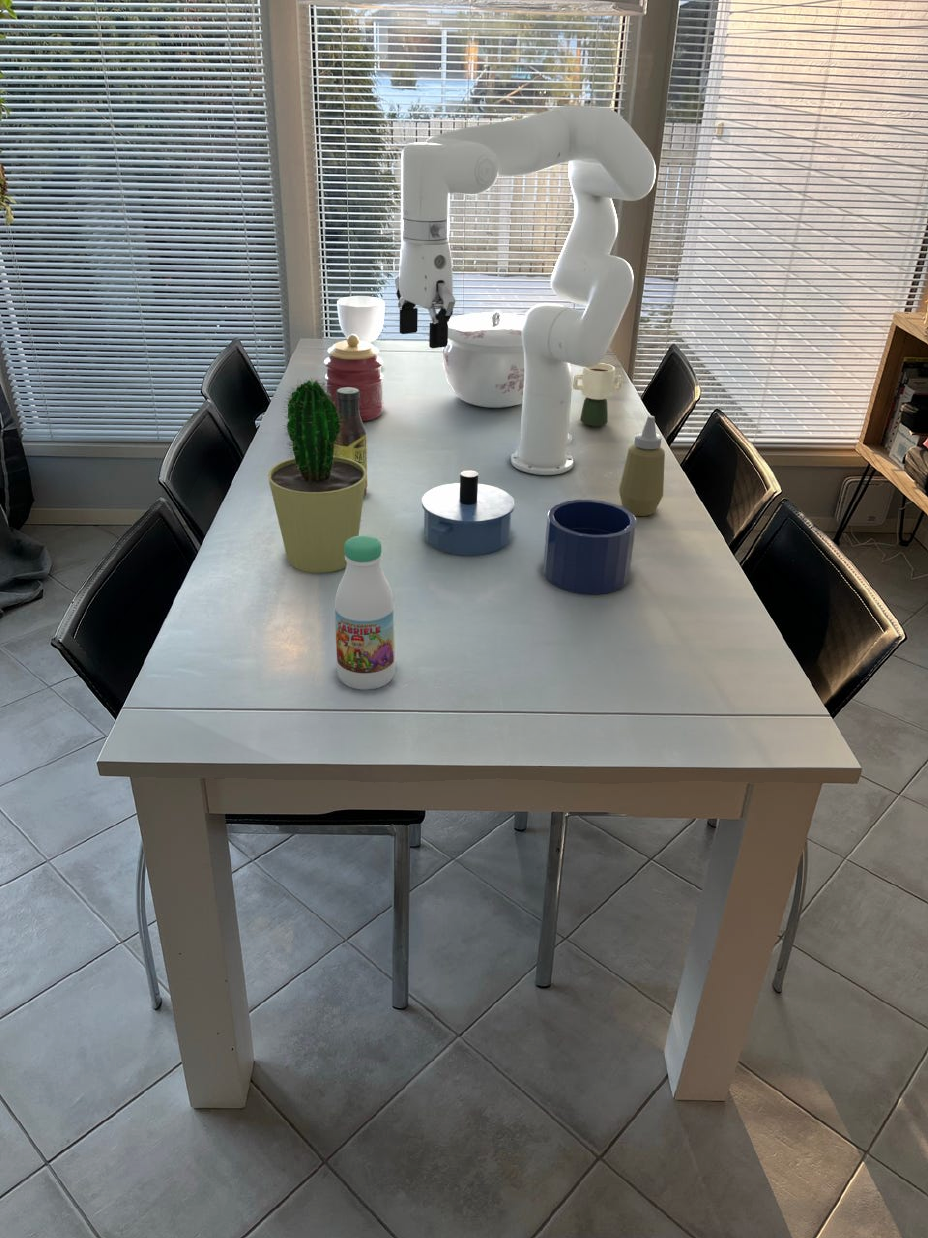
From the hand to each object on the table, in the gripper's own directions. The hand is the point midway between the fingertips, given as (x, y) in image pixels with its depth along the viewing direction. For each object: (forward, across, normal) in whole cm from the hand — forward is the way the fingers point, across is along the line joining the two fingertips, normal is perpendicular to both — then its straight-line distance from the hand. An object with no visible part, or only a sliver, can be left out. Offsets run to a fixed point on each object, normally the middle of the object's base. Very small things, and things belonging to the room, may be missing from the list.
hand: (423, 339), depth 161 cm
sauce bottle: (+31, +12, +8) cm, 34 cm away
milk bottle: (+31, -42, +33) cm, 62 cm away
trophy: (+30, +20, -57) cm, 68 cm away
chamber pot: (+30, +45, -47) cm, 72 cm away
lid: (+25, -14, -1) cm, 28 cm away
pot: (+31, -35, -11) cm, 47 cm away
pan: (+31, -14, -1) cm, 34 cm away
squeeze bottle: (+31, -20, -35) cm, 51 cm away
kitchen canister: (+31, +52, -13) cm, 62 cm away
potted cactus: (+31, -8, +24) cm, 40 cm away
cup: (+30, +80, -30) cm, 91 cm away
